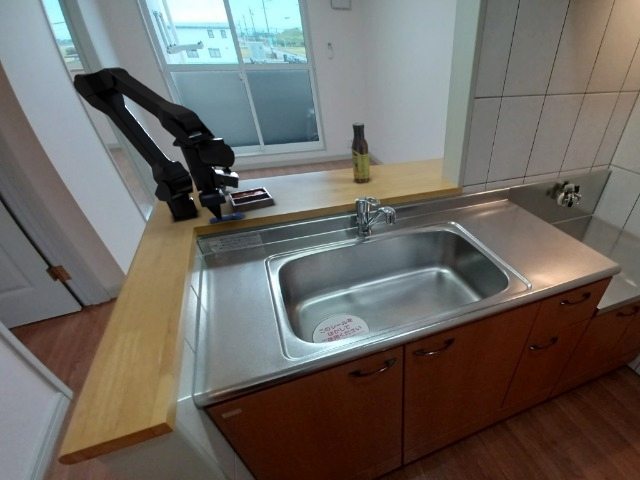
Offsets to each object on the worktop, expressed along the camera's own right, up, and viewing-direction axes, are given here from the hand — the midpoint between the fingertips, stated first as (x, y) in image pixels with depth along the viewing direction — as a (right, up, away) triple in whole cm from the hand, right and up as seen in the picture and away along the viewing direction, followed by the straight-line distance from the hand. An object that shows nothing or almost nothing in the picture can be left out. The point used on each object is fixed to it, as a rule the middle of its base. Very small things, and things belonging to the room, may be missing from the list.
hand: (219, 218), depth 98 cm
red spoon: (+3, +10, +13) cm, 17 cm away
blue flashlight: (+1, 0, +1) cm, 2 cm away
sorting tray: (+4, +8, +12) cm, 15 cm away
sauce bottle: (+40, +21, +28) cm, 53 cm away
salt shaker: (-10, +13, +18) cm, 24 cm away
